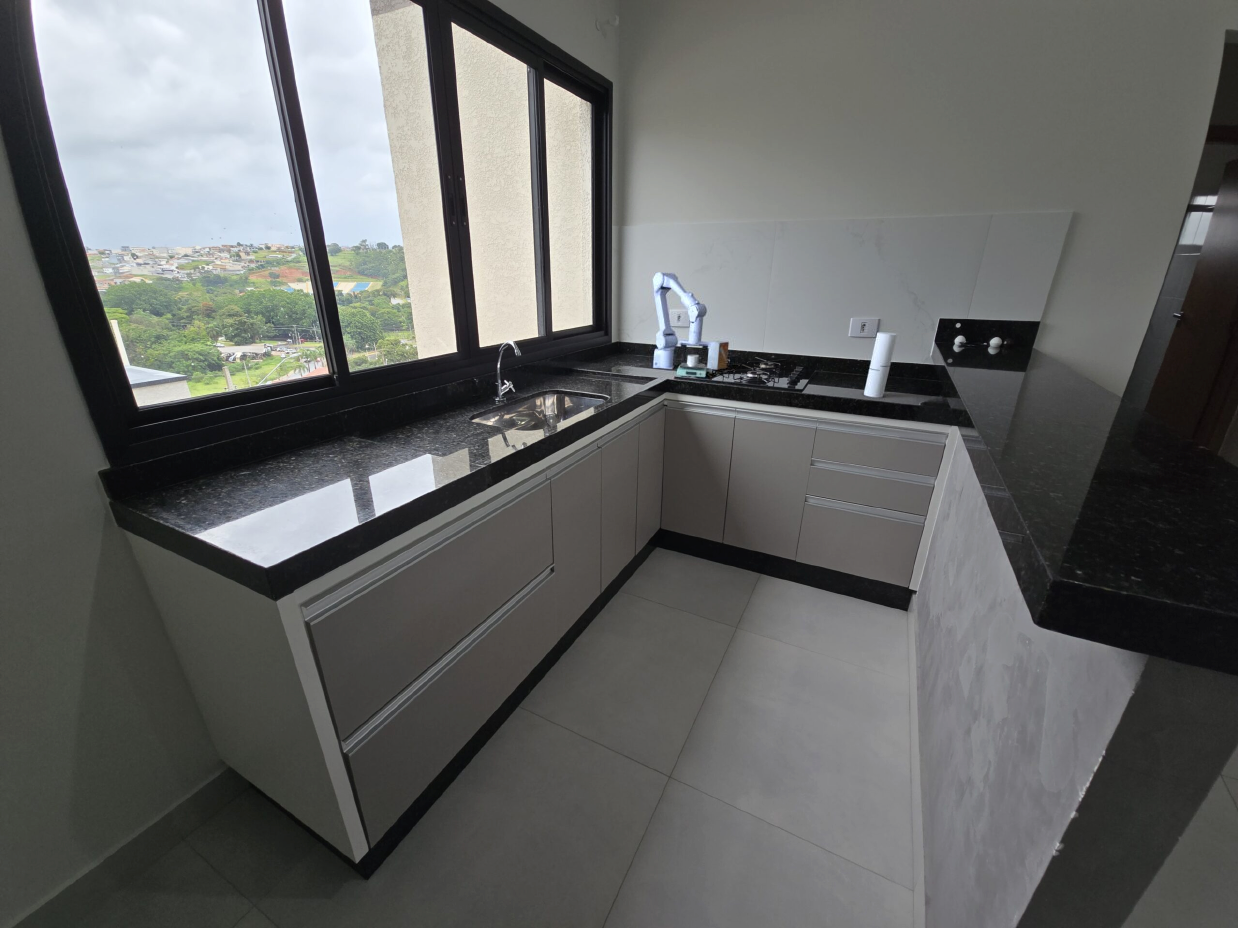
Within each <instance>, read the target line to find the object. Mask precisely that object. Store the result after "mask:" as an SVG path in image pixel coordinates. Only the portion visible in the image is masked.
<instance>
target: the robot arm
mask: <svg viewBox="0 0 1238 928" xmlns="http://www.w3.org/2000/svg"><path fill="white" fill-rule="evenodd" d="M652 285H653V298H654V302H655V303H654V304H655V309H656V315H657V321H658V329H659V330H658V331H657V333H655V334H656V335H655V337H656V339H655V343H656V346H657V348H655V349H654V353H653V365H652V368H653V369H663V370H664V369H665V370H666V369H667V370H673V369H674V368H675V365H674V352H675V350H676V347H677V346H680V350H681V352H682V357H683V362H687V361H686V360H687V347H688V346H690V347H701V355H700V360H699V364H703V359H704V356H705V354H706V352H707V351H708V350H709V347H710V345H711V342H712V341H702V338H703V337H702V335H703V327H704V326H703V325H704V317H706V315H707V312H708V310H707V306H706V305H705V304H704V303H700V301H699V300H698V299H697V298H696V297H695V295H694V294H693V292H690V291H689V292H687V291H686V289H685V288H684V286H683V285H682V284H681V282H680V281H679V277H678V276H677V275H676V274H675V273H674V272H660V271H659V272H656V273H655V275H654V276H653V277H652ZM671 290H672V291H674V293H676V294H677V296H678V297H679V298H680V303H681V304H682V305H683V306H684V307H685V308H686V310H687V314H688V316H689V331H688V340H681V339H680V340H679V339H678V337H677V335H676V331H675V330H674V329H673V328H672V325H671V320H670V314H669V308H668V302H667V294H668V293H669V292H670V291H671Z"/></svg>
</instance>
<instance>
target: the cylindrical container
mask: <svg viewBox="0 0 1238 928" xmlns="http://www.w3.org/2000/svg"><path fill="white" fill-rule="evenodd" d="M897 338H898V333H895V332H886V331H884V332H883V331H879V332H877V334H876V337H875V342H874V346H873V349H872V355H871V360H870V364H869V369H868V373H867V378H866V383H865V387H864V392H863V395H864V396H866V397H870V398H883V397H884V394H885V389H886V385H887V379H888V376H889V372H890V368H891V364H892V359H893V354H894V350H895V345H896V342H897Z"/></svg>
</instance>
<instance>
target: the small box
mask: <svg viewBox="0 0 1238 928" xmlns="http://www.w3.org/2000/svg"><path fill="white" fill-rule="evenodd" d="M710 342H711V345H710V347H708V353H707V364H706V365H707V366H706V368H707V369H711V370H723V369H727V365H728V356H729V355H728V354H729V347H730V346H729V345H730V342H729V341H725V340H714V341H710Z"/></svg>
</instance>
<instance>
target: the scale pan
mask: <svg viewBox="0 0 1238 928" xmlns="http://www.w3.org/2000/svg"><path fill="white" fill-rule="evenodd" d="M679 366H680V368H690V369H703V370H704V367H706V364H704V363H699V364H698V366H689V365H688V364H687V362H681V364H680V365H679Z"/></svg>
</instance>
